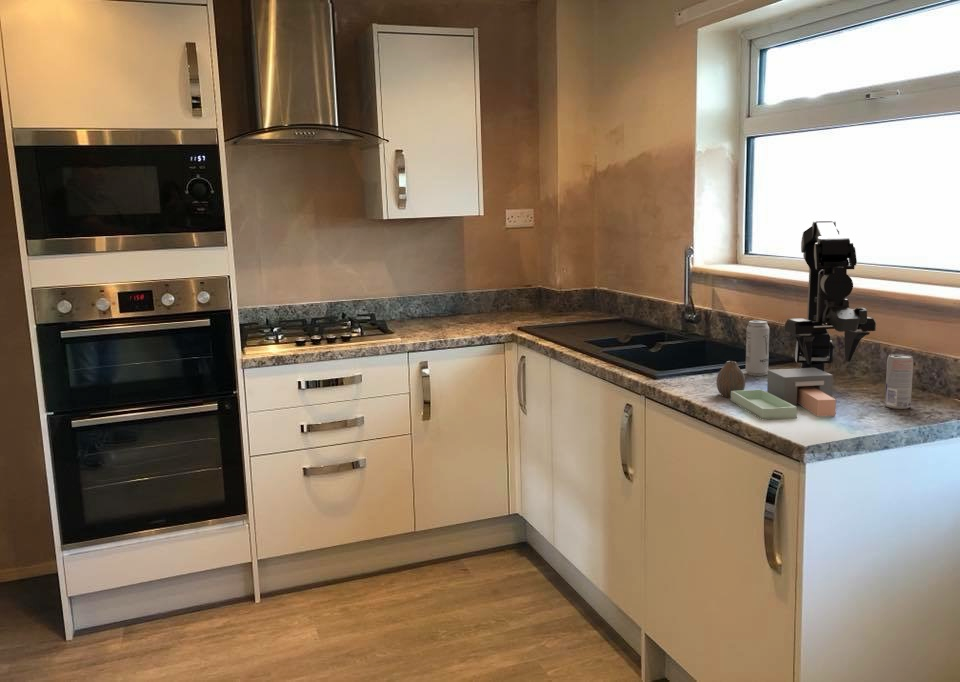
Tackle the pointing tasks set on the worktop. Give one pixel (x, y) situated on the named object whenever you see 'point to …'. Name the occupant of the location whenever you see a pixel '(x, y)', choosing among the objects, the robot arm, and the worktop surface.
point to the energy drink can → (757, 348)
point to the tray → (764, 404)
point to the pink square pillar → (816, 401)
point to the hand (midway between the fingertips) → (828, 362)
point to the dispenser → (797, 382)
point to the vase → (730, 379)
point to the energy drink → (899, 381)
